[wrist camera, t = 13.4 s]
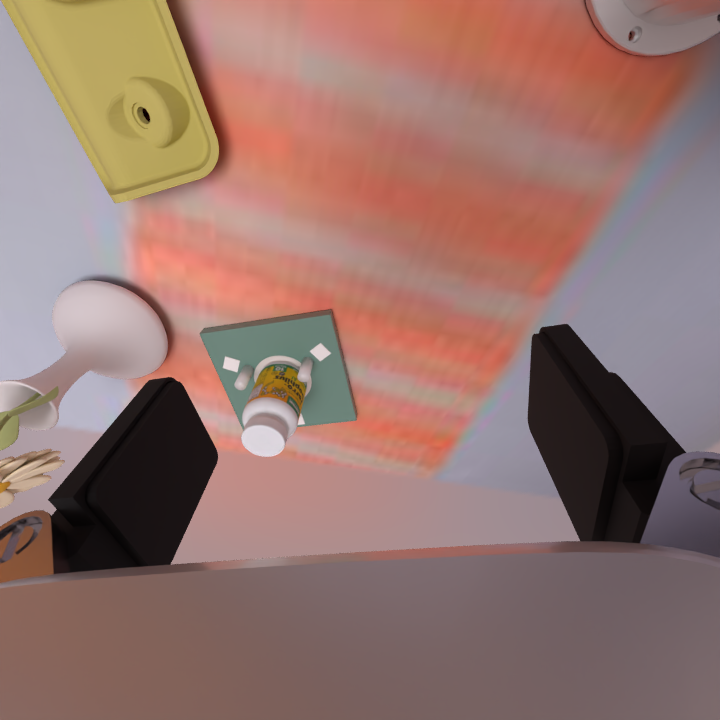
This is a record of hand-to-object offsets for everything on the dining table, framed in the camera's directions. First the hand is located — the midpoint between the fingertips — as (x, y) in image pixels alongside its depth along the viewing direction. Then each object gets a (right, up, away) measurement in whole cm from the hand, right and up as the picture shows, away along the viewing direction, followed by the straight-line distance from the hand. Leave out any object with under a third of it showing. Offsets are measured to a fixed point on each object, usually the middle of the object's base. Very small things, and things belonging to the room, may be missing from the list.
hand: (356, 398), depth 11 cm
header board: (-8, -1, +34) cm, 35 cm away
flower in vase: (-25, +5, +32) cm, 41 cm away
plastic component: (-18, +25, +19) cm, 36 cm away
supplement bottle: (-8, -1, +33) cm, 34 cm away
